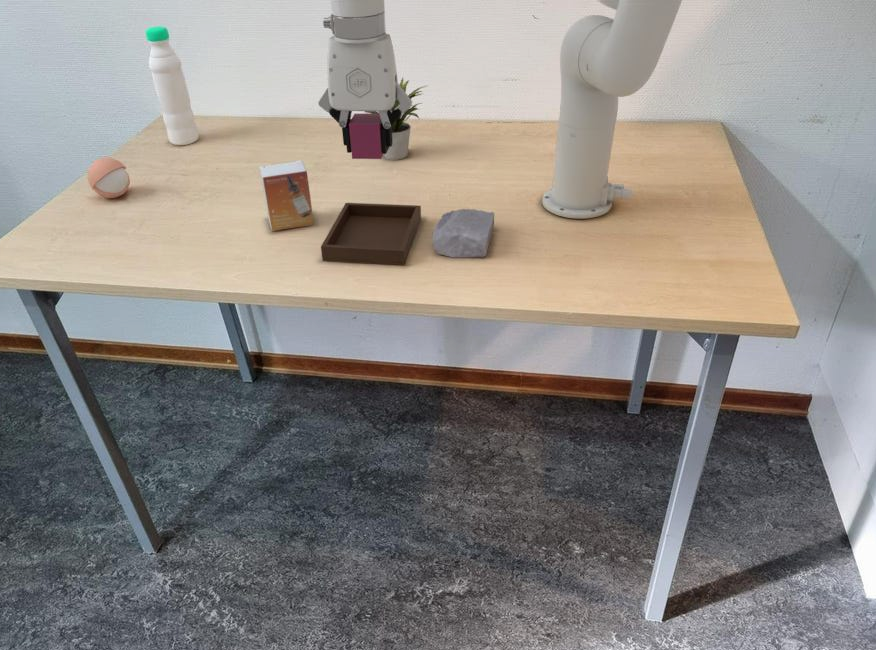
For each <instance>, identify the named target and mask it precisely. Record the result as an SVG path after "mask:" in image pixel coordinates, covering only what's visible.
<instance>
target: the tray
mask: <svg viewBox="0 0 876 650" xmlns="http://www.w3.org/2000/svg"><path fill="white" fill-rule="evenodd" d="M421 206H422V205H418V204H417V205H415V204H412V205H411V204H389V203H388V204H387V203H386V204H385V203H363V202H362V203H361V202H345V203H344V205H343V206H342V208H341V210H340V212H339V213H338V215H337V217H336V219H335V220H334V223H333V224H332V226H331V227H330V230H329V231H328V233H327V234H326V237H325V239H324V240H323V242H322V244H321V245H320V251H321V258H322V262H332V263H333V262H334V263H349V264H352V263H353V264H367V265H370V264H371V265H387V266H402V267H403V266H406V263H407V259H408V257H409V254H410V252H411V249H412V246H413V243H414V241H415V237H416V235H417V232H418V229H419V227H420V223H421V221H422V207H421Z"/></svg>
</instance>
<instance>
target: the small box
mask: <svg viewBox="0 0 876 650" xmlns="http://www.w3.org/2000/svg"><path fill="white" fill-rule="evenodd" d="M258 169H259V174H260V180H261V186H262V192H263V197H264V203H265V209H266V214H267V220H268V222H269V227H270V230H271V232H276V231H279V230H286V229H295V228H300V227H310V226H314V223H315V222H314V212H313V207H312V206H313V205H312V199H311V191H310V185H309V178H308V171H307V169H306V166H305V164H304V162H303V160H302V159H300V160H299V159H298V160H295V161H290V162H284V163H283V162H282V163H275V164H270V165H260V166H259V167H258Z"/></svg>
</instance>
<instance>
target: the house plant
mask: <svg viewBox="0 0 876 650" xmlns="http://www.w3.org/2000/svg"><path fill="white" fill-rule="evenodd" d="M409 82H410V79H408V80H407V81H405V82H404V77H402V78H401V79H400V82H399V85H400V86H401V88H402V89H403V90H404V91H405V93H407V86H408V84H409ZM428 86H429V85H423V86H421V87H418V88H416V89H414V90H413V91H412V92H410V93H408V94H407V95H408V97H409V98H410V99H411V100H412V98H415V97H418V96H422V95H424V94H425V92H423V90H421V89H423V88H427V87H428ZM422 92H423V93H422ZM421 104H422V102H418V103H415V104H414V105H413V104H412V106H411V107H410V108H409V109H408V110H407V111H406V112H405V113H403V114H402V115H401V116H400V117H399V118H398V119H397V120H396V121H395V122H394V123H393V124H392V146H391V147H389V149H388V151H387V153H386V154H383V156H384V158H385V159H387V160H389V161H398V160H399V161H400V160H402V159H406V157H408V155H409V153H408V152H409V144H410V137H411V125H410V124H409V123H408V122H406V121H407V120H408V119H409V118H410V117H411V116H413V117H416V118H417V119H419V120H420V117H419V115H418V114H417V113H415V111H417V110H420V111H421V109H420V108H418V107H417V106H418V105H421ZM399 105H400V102H399V101H398V99H397V100H396V101H395V104H394V106H393V107H392V108H391V111H393V110H394V109H395V108H396V107H398V106H399ZM364 113H365V114H374V113H379V112H378V111H364Z"/></svg>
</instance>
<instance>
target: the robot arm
mask: <svg viewBox="0 0 876 650" xmlns="http://www.w3.org/2000/svg"><path fill="white" fill-rule="evenodd" d="M682 1H683V0H597V2H599V3H600V4H601V5H603V6H605V7H607V8H610V9H612V10H614V11H615V15H614V17H613V18H611V17H608V16H606V15H601V14H600V15H599V14H593V15H592V14H591V15H587V16H584V17H581V18H579V19H578V20H576V21H575V22H574V23H573V24H572V25H571V26H570V27H569V28H568V29H567V31H566V33H565V35H564V37H563V39H562V42H561V44H560V45H561V46H560V51H559V67H560V68H559V70H560V71H559V72H560V105H559V115H558V116H559V117H558V124H557V125H558V126H557V135H556V145H555V153H554V165H553V175H552V185H551V188H550V189H548V190H546V191H545V192H544V193H543V195H542V200H541V202H542V206H543V208H544V209H545V210H547V211H548V212H550V213H551V214H553V215H556V216H559V217H563V218H567V219H576V220H579V219H581V220H583V219H584V220H585V219H593V218H598V217H600V216H604V215H606V213H608V212H609V211H610V210H611V209H612V205H613V201H614V200H624V201H632V198H633V189H632V188H625V185H624V184H621V183H619V184H618V183H616V184H612V182H609V177H608V174H609V167H610V162H611V155H612V150H613V149H612V148H613V141H614V135H615V129H616V123H617V117H618V110H619V98H624V97H629V96H632V95H633V94H635V93H637V92H639V91H640V90H641V89H642V88H643V87H644V86H645V85H646V84H647V82H648V81H649V80H650V79H651V77H652V75H653V73H654V71H655V69H656V67H657V65H658V63H659V60H660V59H661V56H662V53H663V51H664V48H665V46H666V42H667V40H668V38H669V35H670V33H671V31H672V27H673V25H674V22H675V20H676V18H677V15H678V12H679V10H680V7H681V4H682ZM330 6H331V8H330V9H331V14H330V16H328V17H323V18H322V23H323V28H324V29H329V30H331V32H332V36H331V37H329V38H328V43H327V88H326V89H325V91H324V93H323V95H322V96H321V97H320V99H319V100H318V106H319V108H321V109H323V110H324V111H325V112H326V113H328V114H329V115H330V117H331V118H332V119H334V120H335V121H336V122H337V123H338V126H339V127H340V128H341V131H342V132H341V133H342V142H343V146H346V153H348V154H349V153H350V154H352V152H351V141H350V130H349V123H350V121H351V119H352V113H353V112H365V111H376V112H378V113H379V115H380V118H381V121H382V127H381V129H380V133H381V149H382V153H383V155H384V154H386V153H387V151H388V149H389V147H391V146H392V124H393V123H394V122H395V121H396V120H397V119H398V118H399V117H400V116H401V115H403V114H404V113H405V112H406V111H407V110H408V109H410V108H411V107H413V106H412V105H413V100H412V98H411V99H410V98H409V97H408V95H409V94H407V92H405V91H404V90H403V89H402V88H401V86H400V83H399V81H398V80H399V79H398V72H397V64H396V56H395V50H394V45H393V42H392V37H391V35H390V34H389V33H387V28H386V12H385V9H386V7H385V0H330ZM397 99H398V101H399V102H400V105H399V106H398V107H396V108H395V109H394V110H393V111H391V108H392V107H393V106H394V104H395V101H396V100H397ZM401 117H402V116H401Z"/></svg>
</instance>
